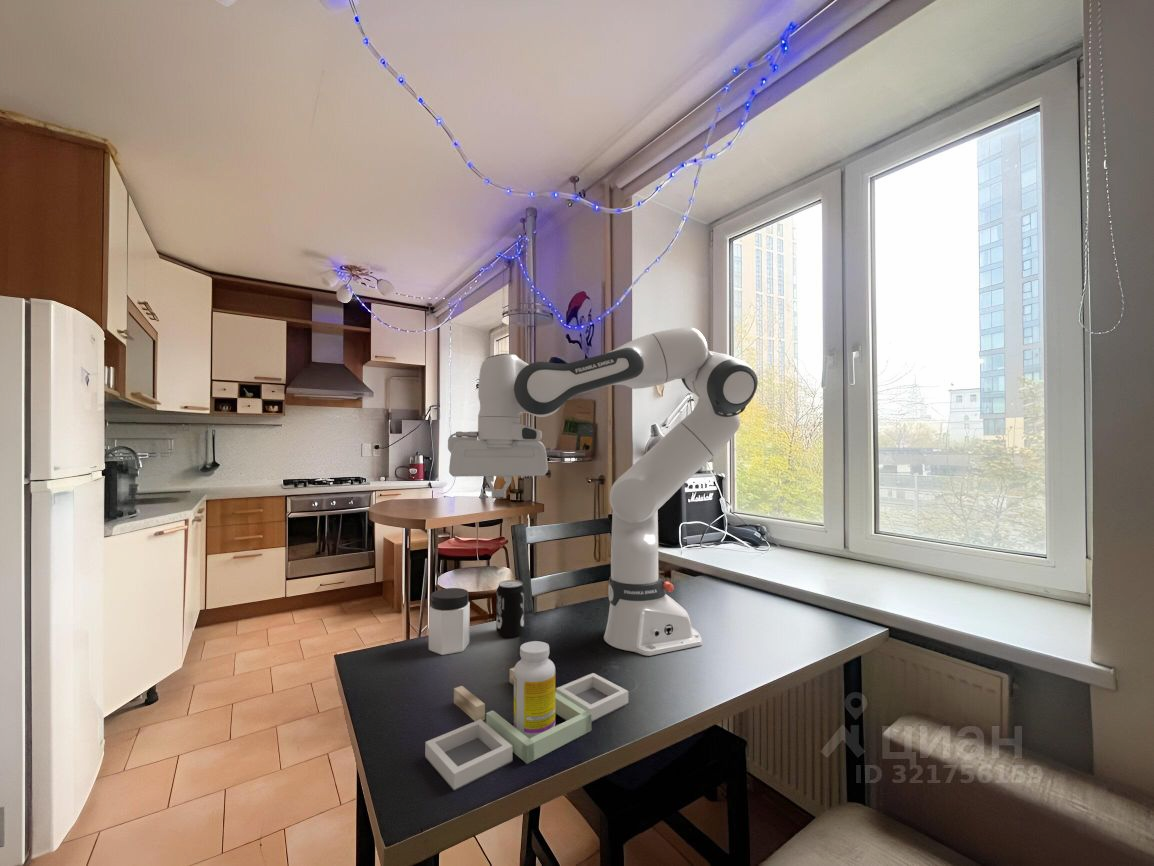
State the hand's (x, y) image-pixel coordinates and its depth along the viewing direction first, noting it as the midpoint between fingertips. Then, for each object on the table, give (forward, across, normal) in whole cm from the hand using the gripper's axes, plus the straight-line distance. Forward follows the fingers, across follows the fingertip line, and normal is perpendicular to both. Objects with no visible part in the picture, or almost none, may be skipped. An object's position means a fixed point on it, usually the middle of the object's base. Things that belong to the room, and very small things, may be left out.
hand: (498, 498), depth 101 cm
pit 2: (+34, +15, -19) cm, 42 cm away
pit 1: (+34, -6, -30) cm, 46 cm away
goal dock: (+34, +5, -24) cm, 42 cm away
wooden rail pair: (+34, -1, -14) cm, 37 cm away
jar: (+34, -10, +11) cm, 37 cm away
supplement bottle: (+34, +4, -24) cm, 42 cm away
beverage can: (+34, +4, +16) cm, 38 cm away
